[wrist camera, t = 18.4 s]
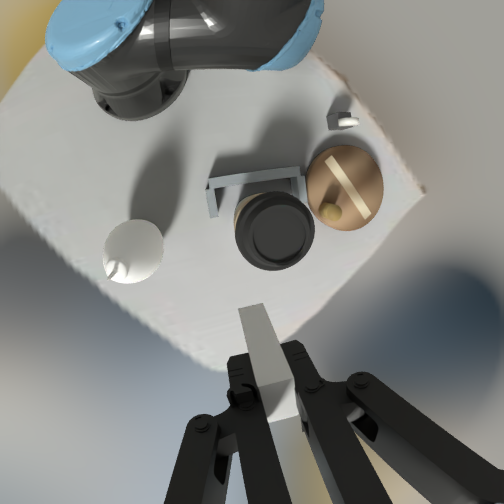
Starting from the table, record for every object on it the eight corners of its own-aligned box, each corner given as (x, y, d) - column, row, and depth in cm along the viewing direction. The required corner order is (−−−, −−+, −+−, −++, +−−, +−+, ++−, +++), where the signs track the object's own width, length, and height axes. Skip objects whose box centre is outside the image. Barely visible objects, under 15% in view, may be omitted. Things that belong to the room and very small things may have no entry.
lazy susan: (287, 181, 42) (298, 181, 36) (347, 130, 41) (364, 126, 36) (337, 245, 46) (352, 254, 41) (389, 194, 45) (407, 197, 40)
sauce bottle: (167, 212, 41) (139, 237, 23) (171, 261, 43) (150, 315, 26) (119, 215, 39) (67, 243, 22) (125, 263, 42) (83, 315, 24)
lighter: (324, 116, 40) (342, 108, 34) (341, 116, 41) (360, 109, 34) (326, 130, 41) (345, 124, 35) (343, 130, 41) (363, 124, 35)
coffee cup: (217, 202, 41) (222, 215, 27) (270, 177, 42) (303, 179, 27) (241, 253, 44) (258, 291, 30) (292, 229, 44) (331, 255, 30)
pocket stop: (204, 179, 40) (203, 179, 37) (295, 166, 42) (303, 165, 38) (209, 214, 42) (210, 218, 38) (300, 200, 43) (307, 202, 40)
